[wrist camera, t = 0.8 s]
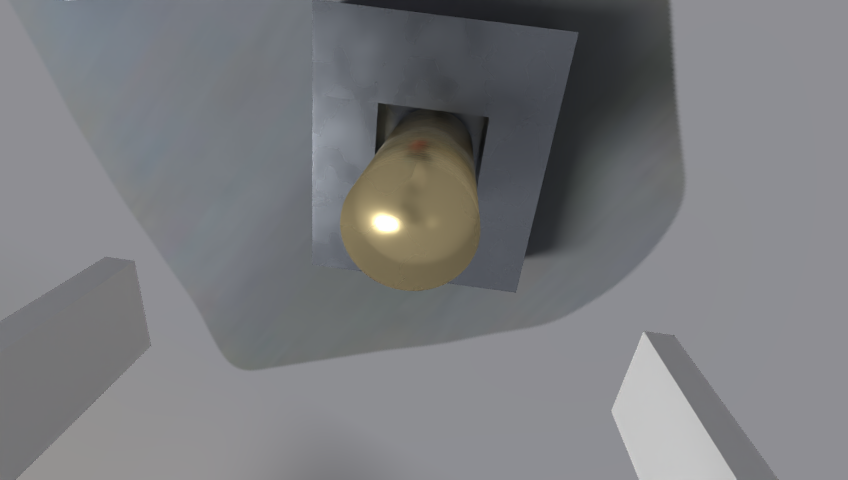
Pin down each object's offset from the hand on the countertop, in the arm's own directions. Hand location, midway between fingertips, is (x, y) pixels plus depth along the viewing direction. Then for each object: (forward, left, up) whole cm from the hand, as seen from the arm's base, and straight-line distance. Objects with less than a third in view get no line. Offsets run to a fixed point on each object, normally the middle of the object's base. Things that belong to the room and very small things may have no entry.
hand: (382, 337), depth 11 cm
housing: (0, 0, -21) cm, 21 cm away
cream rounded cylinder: (0, 0, -20) cm, 20 cm away
